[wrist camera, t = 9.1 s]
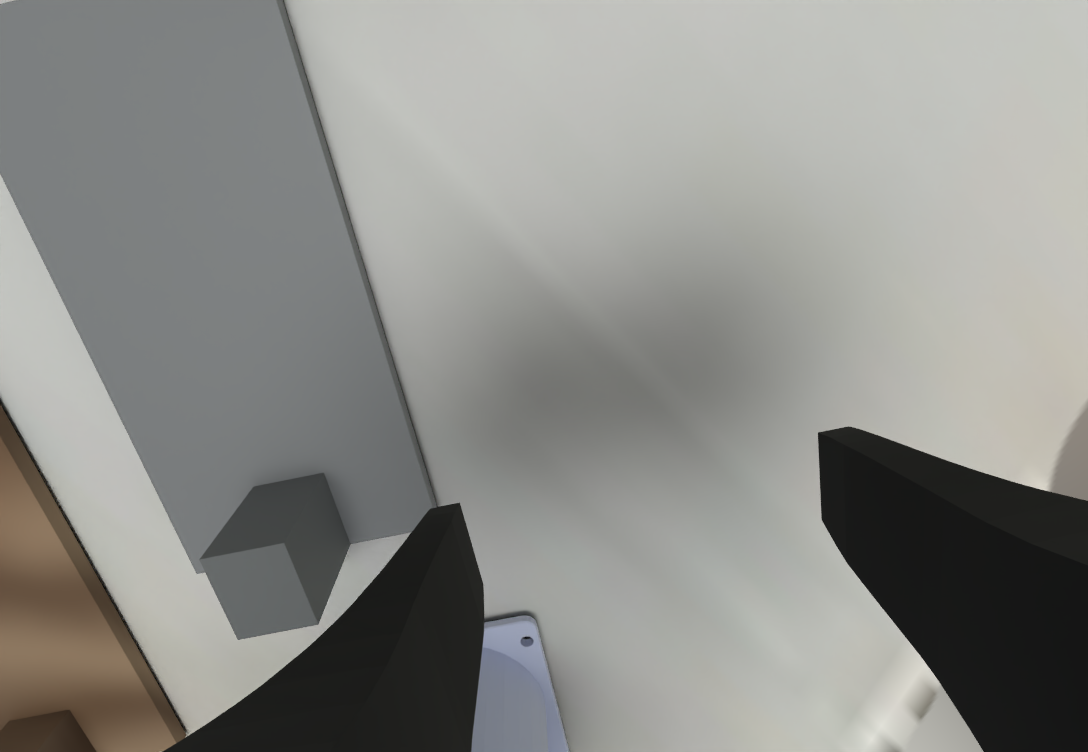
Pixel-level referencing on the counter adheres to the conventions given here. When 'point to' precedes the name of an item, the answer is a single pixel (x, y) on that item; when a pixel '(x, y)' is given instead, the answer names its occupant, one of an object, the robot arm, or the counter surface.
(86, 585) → the walnut strip
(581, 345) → the counter surface
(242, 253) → the charcoal strip
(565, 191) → the counter surface
